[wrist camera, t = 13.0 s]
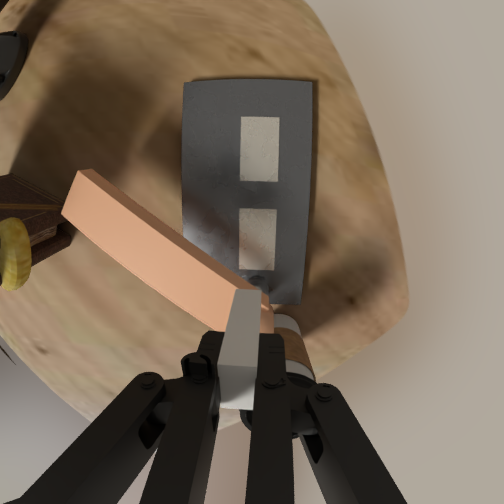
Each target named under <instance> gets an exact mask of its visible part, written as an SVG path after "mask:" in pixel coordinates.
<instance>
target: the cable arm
mask: <svg viewBox="0 0 504 504" xmlns="http://www.w3.org/2000/svg"><path fill="white" fill-rule="evenodd" d="M61 214H62V215H63V216H64V217H65V218H66V219H67V220H68V221H69V222H71V223H72V224H73V225H74V226H75V227H76V228H77V229H79V230H80V231H81V232H82V233H83V234H84V235H86V236H87V237H88V238H89V239H90V240H92V241H93V242H94V243H95V244H96V245H98V246H99V247H100V248H101V249H102V250H104V251H105V252H106V253H107V254H109V255H110V256H111V257H112V258H114V259H115V260H116V261H117V262H119V263H120V264H121V265H123V266H124V267H125V268H126V269H128V270H129V271H130V272H132V273H133V274H134V275H136V276H137V277H138V278H140V279H141V280H142V281H144V282H145V283H146V284H148V285H149V286H151V287H152V288H153V289H155V290H156V291H158V292H159V293H160V294H162V295H163V296H165V297H166V298H167V299H169V300H170V301H172V302H173V303H175V304H176V305H177V306H179V307H180V308H182V309H183V310H185V311H186V312H188V313H189V314H191V315H192V316H194V317H195V318H197V319H198V320H200V321H201V322H203V323H205V324H206V325H208V326H209V327H211V328H212V329H214V330H216V331H222V332H225V330H226V326H227V322H228V318H229V314H230V310H231V306H232V302H233V298H234V294H235V290H236V289H249V290H259V289H257V288H256V287H254V286H253V285H251V284H250V283H248V282H247V281H245V280H244V279H243V278H241V277H240V276H238V275H237V274H235V273H234V272H232V271H231V270H230V269H228V268H227V267H225V266H224V265H222V264H221V263H220V262H218V261H217V260H215V259H214V258H212V257H211V256H210V255H208V254H207V253H205V252H204V251H202V250H201V249H200V248H198V247H197V246H195V245H194V244H193V243H191V242H190V241H188V240H187V239H186V238H184V237H183V236H181V235H180V234H179V233H177V232H176V231H175V230H173V229H172V228H170V227H169V226H168V225H166V224H165V223H164V222H162V221H161V220H159V219H158V218H157V217H155V216H154V215H153V214H151V213H150V212H148V211H147V210H146V209H144V208H143V207H142V206H140V205H139V204H138V203H136V202H135V201H134V200H132V199H131V198H130V197H128V196H127V195H126V194H124V193H123V192H122V191H120V190H119V189H118V188H116V187H115V186H114V185H112V184H111V183H110V182H108V181H107V180H106V179H104V178H103V177H102V176H101V175H99V174H98V173H97V172H95V171H94V170H93V169H86V170H78V172H77V174H76V176H75V179H74V181H73V183H72V186H71V188H70V191H69V193H68V196H67V199H66V201H65V204H64V207H63V210H62V212H61ZM260 333H274V312H273V308H272V306H271V305H270V303H269V296H267V295H266V294H265V293H263V292H262V291H261V315H260Z"/></svg>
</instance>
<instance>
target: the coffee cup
mask: <svg viewBox="0 0 504 504" xmlns="http://www.w3.org/2000/svg"><path fill="white" fill-rule="evenodd" d="M274 334H280V335H281V336H282V338H283V339H284V345H285V359H286V374H287V378H288V379H289V381H290V382H292V383H293V384H294V385H296V386H299V387H302V388H307V389H309V388H311V387H312V386H313V385H316V384H317V383H316V379H315V375H314V372H313V369H312V366H311V363H310V360H309V357H308V354H307V351H306V348H305V345H304V342H303V339H302V336H301V333H300V330H299V327H298V324H297V323H296V321H295V320H294V319H293V318H291V317H290V316H287V315H284V314H274ZM239 411H240V417H241V420H242V422H243V423H244V425H245V426H246V427H247V428H248V429H249V430H250V431H251V428H252V415H253V410H244V409H239ZM298 437H299V435H298V433H295V432H292V439H295V438H298Z"/></svg>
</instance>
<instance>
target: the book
mask: <svg viewBox="0 0 504 504" xmlns="http://www.w3.org/2000/svg"><path fill="white" fill-rule="evenodd" d="M64 204H65V201H63V200H61V199H59V198H57V197H55V196H53V195H51V194H49V193H47V192H45V191H44V190H42V189H40V188H38V187H36V186H34V185H32V184H30V183H29V182H27V181H25V180H23V179H21V178H19V177H17V176H16V175H14V174H8V175H3V176H0V286H2V287H3V288H4V289H6V290H8V291H12V290H17V289H18V288H20V287H21V286H23V285H24V283H25V282H26V281H27V279H28V278H29V275H30V272H31V267H32V266H34V265H35V264H37V263H39V262H41V261H42V260H44V259H46V258H48V257H50V256H51V255H53V254H55V253H57V252H59V251H61V250H63V249H64V248H66V247H68V246H69V245H70V242H71V237H70V235H68V234H66V233H65V232H63V231H61V230H59V229H58V228H57V224H60V223H62V222H65V221H67V219H66V218H65V217H64V216H63V215H62V214H61V212H62V210H63V207H64Z"/></svg>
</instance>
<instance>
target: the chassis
mask: <svg viewBox="0 0 504 504" xmlns="http://www.w3.org/2000/svg"><path fill="white" fill-rule="evenodd" d="M311 154H312V82H306V81H293V80H275V79H226V80H208V81H195V82H185V83H184V91H183V113H182V217H183V237H184V238H186V239H187V240H188V241H190V242H191V243H193V244H194V245H195V246H197V247H198V248H200V249H201V250H202V251H204V252H205V253H207V254H208V255H210V256H211V257H212V258H214V259H215V260H217V261H218V262H220V263H221V264H222V265H224V266H225V267H227V268H228V269H230V270H231V271H232V272H234V273H235V274H237V275H238V276H240V277H241V278H243V279H244V280H245V281H247V282H248V283H250V284H251V285H253V286H254V287H256V288H257V289H259V290H261V291H262V292H263V293H265V294H266V295H267V296H269V303H270V304H292V305H301V296H302V286H303V276H304V266H305V255H306V243H307V230H308V215H309V199H310V180H311Z"/></svg>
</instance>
